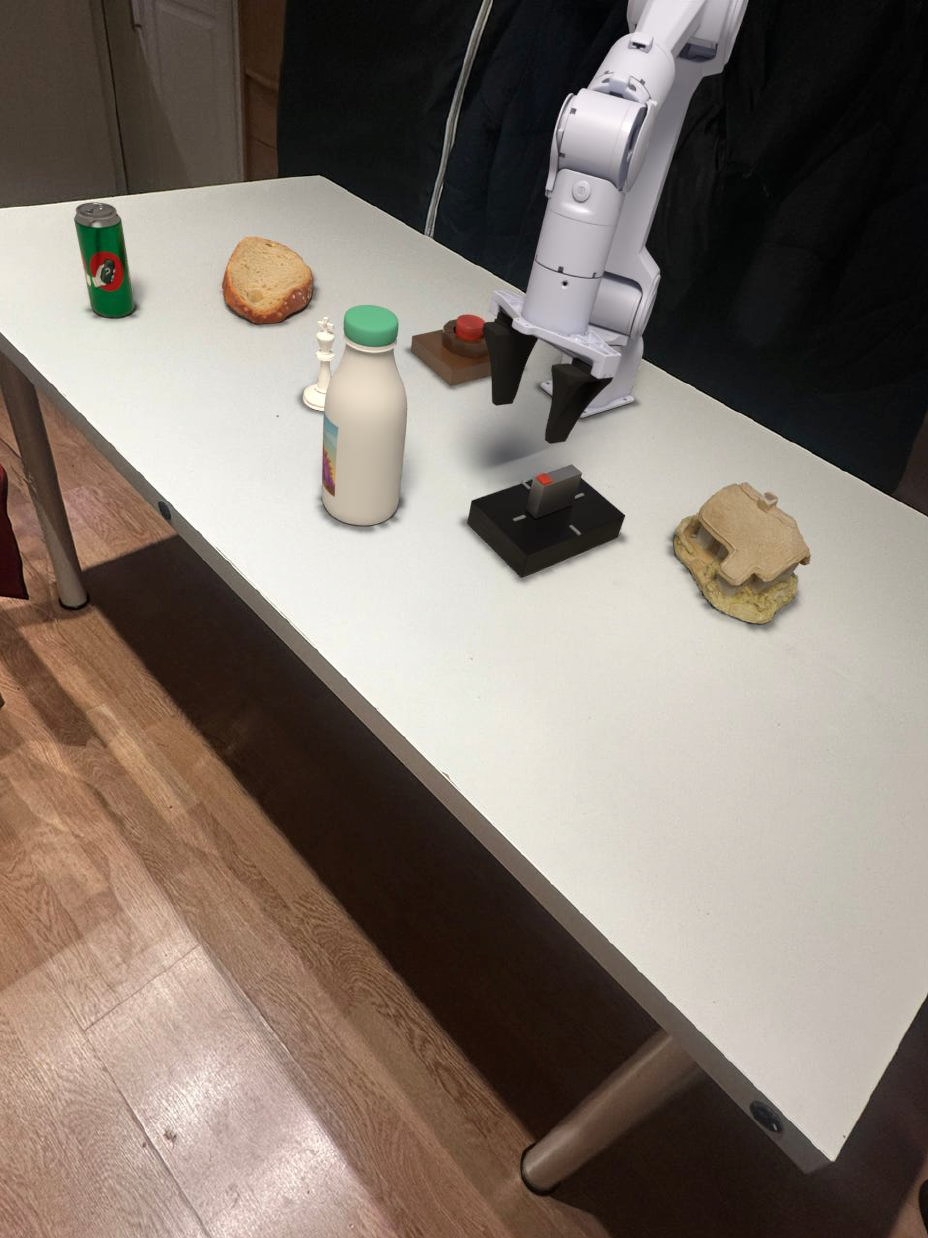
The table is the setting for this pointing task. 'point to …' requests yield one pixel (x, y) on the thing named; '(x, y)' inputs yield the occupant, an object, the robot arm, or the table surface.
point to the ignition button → (469, 327)
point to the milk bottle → (364, 421)
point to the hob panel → (543, 526)
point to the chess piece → (321, 367)
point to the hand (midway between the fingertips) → (527, 421)
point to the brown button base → (452, 355)
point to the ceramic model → (743, 552)
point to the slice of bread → (266, 281)
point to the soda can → (104, 259)
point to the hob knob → (553, 491)
